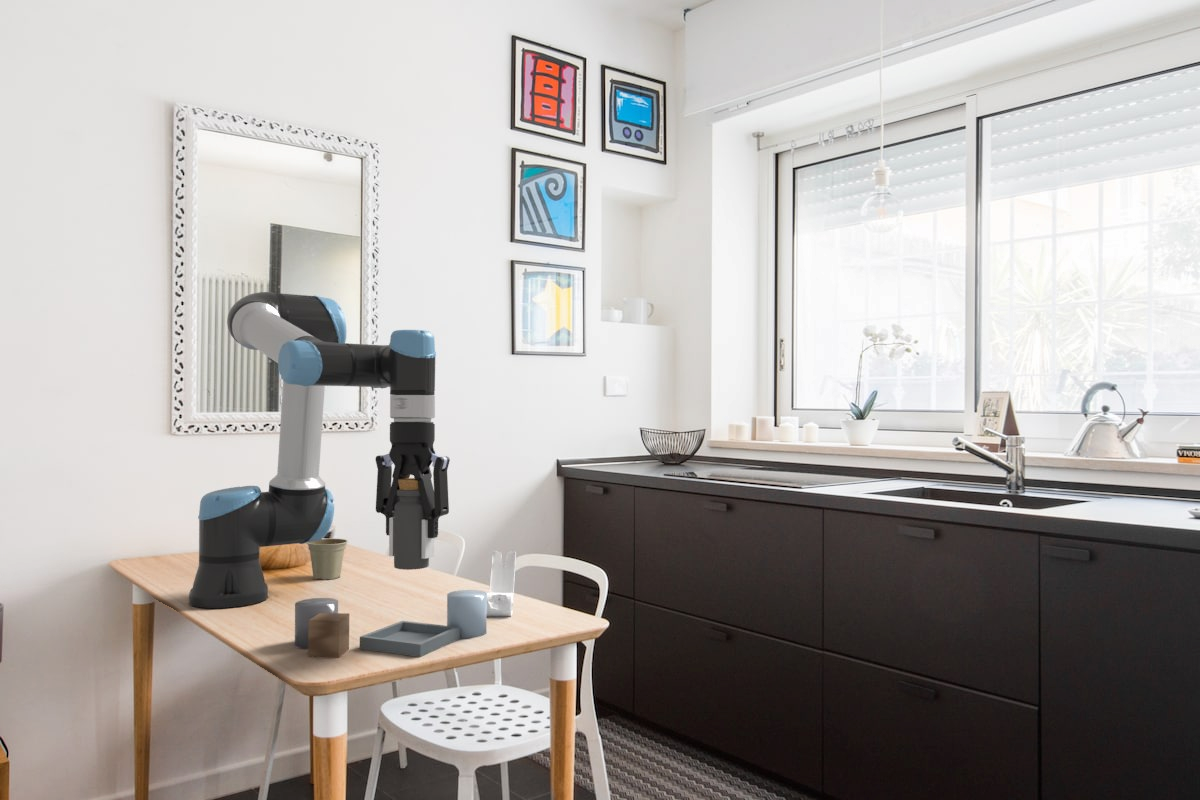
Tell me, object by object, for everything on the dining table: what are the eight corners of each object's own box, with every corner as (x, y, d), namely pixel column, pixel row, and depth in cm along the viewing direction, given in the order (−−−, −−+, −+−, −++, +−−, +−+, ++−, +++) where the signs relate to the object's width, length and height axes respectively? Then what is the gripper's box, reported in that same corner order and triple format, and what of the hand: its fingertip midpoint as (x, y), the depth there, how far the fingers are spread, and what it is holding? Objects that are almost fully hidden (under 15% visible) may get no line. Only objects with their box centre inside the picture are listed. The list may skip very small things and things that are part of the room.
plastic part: (471, 618, 166) (471, 557, 166) (479, 606, 176) (479, 549, 176) (510, 618, 166) (510, 558, 166) (516, 606, 176) (516, 549, 176)
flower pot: (356, 576, 206) (356, 540, 206) (324, 583, 198) (324, 545, 198) (329, 572, 211) (330, 537, 211) (297, 578, 203) (298, 542, 203)
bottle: (411, 571, 143) (412, 480, 143) (386, 567, 146) (387, 479, 146) (436, 565, 148) (436, 478, 148) (411, 562, 151) (411, 477, 151)
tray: (359, 648, 143) (359, 636, 143) (402, 631, 154) (402, 620, 154) (420, 656, 139) (420, 644, 139) (459, 638, 150) (459, 627, 150)
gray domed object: (285, 646, 145) (286, 604, 145) (314, 636, 151) (314, 596, 151) (318, 650, 142) (319, 608, 142) (346, 640, 149) (346, 600, 149)
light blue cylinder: (439, 635, 152) (439, 596, 152) (460, 626, 159) (460, 588, 159) (473, 639, 149) (473, 599, 149) (493, 630, 156) (493, 591, 156)
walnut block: (308, 657, 138) (308, 620, 138) (319, 649, 143) (319, 613, 143) (338, 658, 138) (339, 620, 138) (349, 649, 143) (349, 613, 143)
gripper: (353, 420, 147) (352, 555, 147) (447, 420, 140) (447, 563, 140) (380, 420, 154) (379, 549, 154) (471, 420, 147) (470, 556, 147)
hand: (411, 555), depth 147 cm, fingers closed on bottle, 6 cm apart
